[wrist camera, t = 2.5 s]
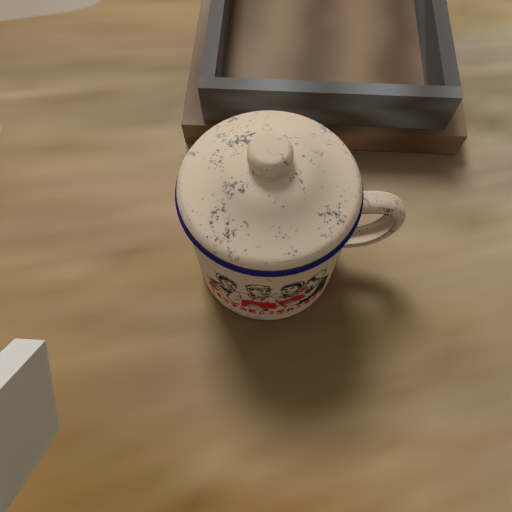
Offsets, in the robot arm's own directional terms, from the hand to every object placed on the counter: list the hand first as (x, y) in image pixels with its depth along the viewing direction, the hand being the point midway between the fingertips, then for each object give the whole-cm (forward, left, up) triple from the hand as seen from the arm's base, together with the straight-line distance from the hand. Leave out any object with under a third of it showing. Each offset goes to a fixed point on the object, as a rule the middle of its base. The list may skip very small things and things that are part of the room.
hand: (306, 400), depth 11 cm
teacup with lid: (0, -10, -15) cm, 18 cm away
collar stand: (-2, -28, -15) cm, 32 cm away
